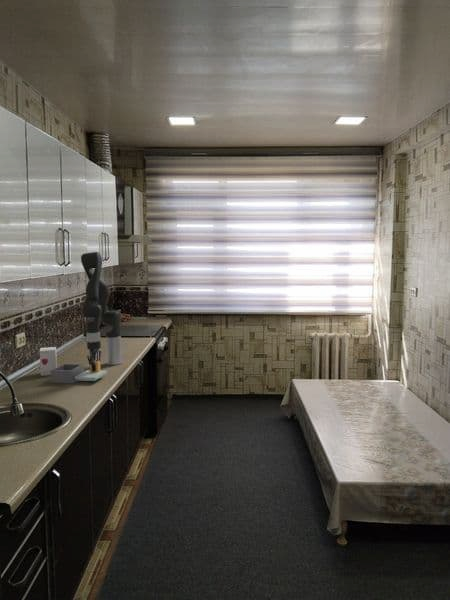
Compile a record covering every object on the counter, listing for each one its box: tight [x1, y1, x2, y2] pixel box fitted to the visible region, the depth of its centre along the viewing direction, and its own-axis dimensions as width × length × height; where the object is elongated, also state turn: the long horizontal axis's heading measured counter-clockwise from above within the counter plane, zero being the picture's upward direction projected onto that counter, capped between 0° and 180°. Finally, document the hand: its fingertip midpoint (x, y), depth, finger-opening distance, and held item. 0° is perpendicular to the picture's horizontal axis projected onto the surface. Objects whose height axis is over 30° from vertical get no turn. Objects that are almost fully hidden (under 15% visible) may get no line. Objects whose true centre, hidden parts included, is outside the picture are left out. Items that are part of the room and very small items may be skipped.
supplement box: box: [39, 346, 58, 377], centre depth 303 cm, size 9×9×15 cm
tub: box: [50, 363, 85, 384], centre depth 288 cm, size 15×12×7 cm
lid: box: [75, 360, 108, 382], centre depth 286 cm, size 15×12×8 cm
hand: (95, 370), depth 291 cm, fingers closed on lid, 2 cm apart
